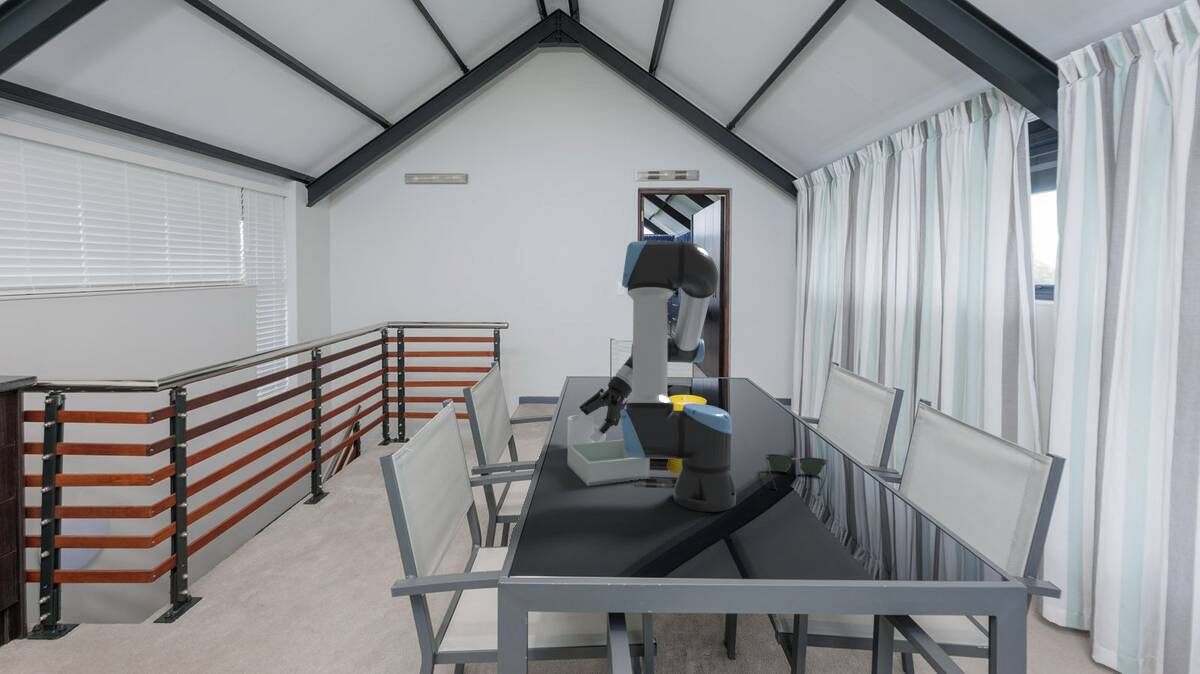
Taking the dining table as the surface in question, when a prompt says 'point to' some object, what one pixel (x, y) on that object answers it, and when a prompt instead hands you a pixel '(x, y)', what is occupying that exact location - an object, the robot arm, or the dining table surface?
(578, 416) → the mug
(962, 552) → the dining table surface
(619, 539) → the dining table surface
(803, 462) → the sunglasses
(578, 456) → the bin
